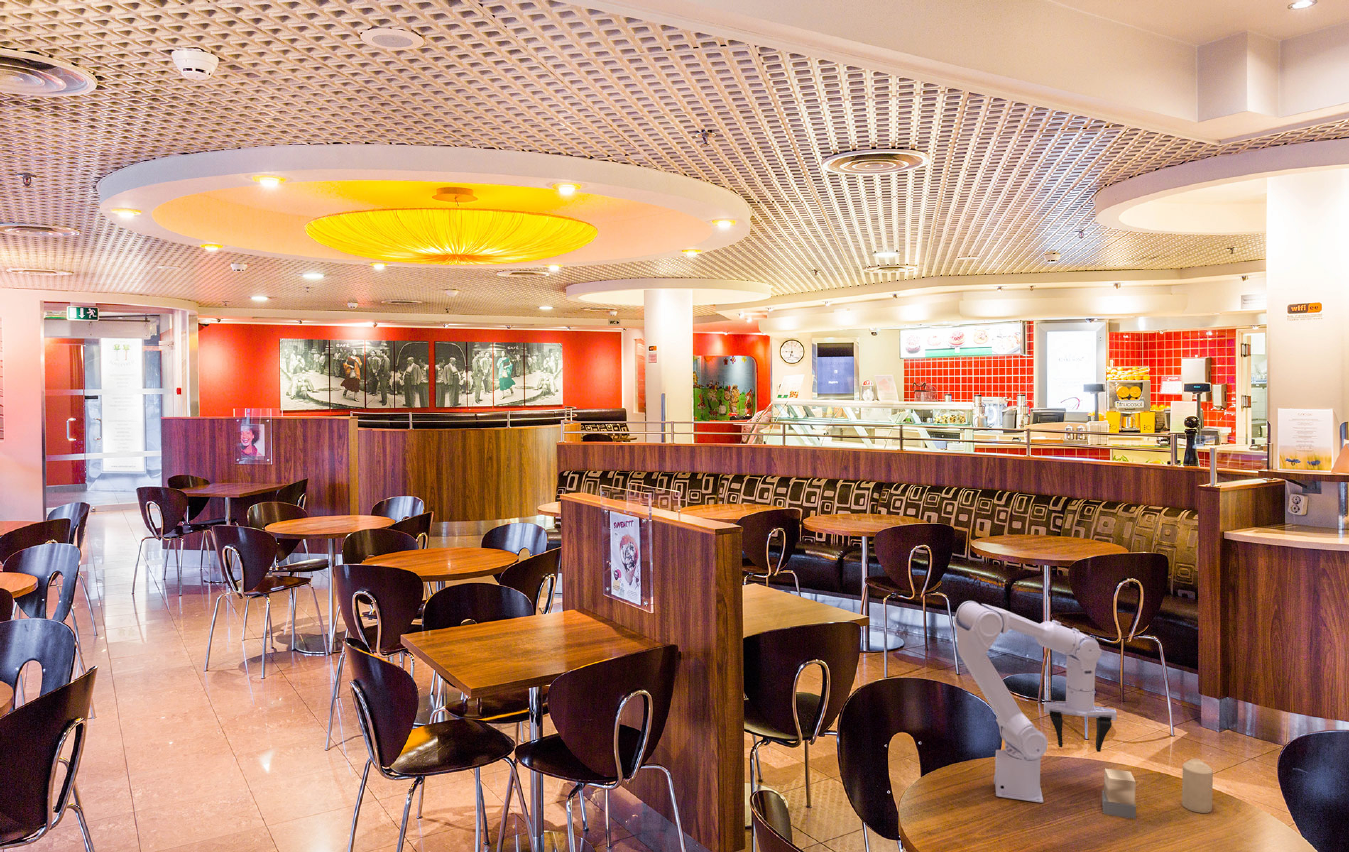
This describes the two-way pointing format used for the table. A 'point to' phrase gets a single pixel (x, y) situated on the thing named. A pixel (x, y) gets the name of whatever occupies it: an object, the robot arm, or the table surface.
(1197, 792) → the candle
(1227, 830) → the table surface
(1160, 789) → the table surface
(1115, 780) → the beech cube
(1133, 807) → the gray block
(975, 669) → the robot arm
